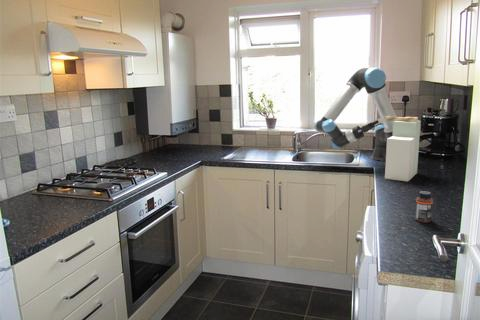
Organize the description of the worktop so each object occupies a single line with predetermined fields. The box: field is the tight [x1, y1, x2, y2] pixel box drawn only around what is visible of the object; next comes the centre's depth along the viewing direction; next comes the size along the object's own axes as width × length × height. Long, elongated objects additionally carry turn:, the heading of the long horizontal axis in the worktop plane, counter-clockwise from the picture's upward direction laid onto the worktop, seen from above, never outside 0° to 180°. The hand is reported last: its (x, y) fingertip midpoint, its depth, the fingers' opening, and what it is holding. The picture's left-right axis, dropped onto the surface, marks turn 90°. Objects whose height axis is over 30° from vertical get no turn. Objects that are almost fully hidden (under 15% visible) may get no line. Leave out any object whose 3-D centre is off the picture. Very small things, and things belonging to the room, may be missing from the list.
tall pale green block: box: [384, 120, 421, 182], centre depth 226 cm, size 12×22×30 cm, turn 146°
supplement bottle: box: [414, 190, 434, 224], centre depth 157 cm, size 6×6×11 cm
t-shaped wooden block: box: [382, 116, 419, 122], centre depth 230 cm, size 19×6×2 cm, turn 56°
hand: (387, 117), depth 232 cm, fingers open, 13 cm apart
